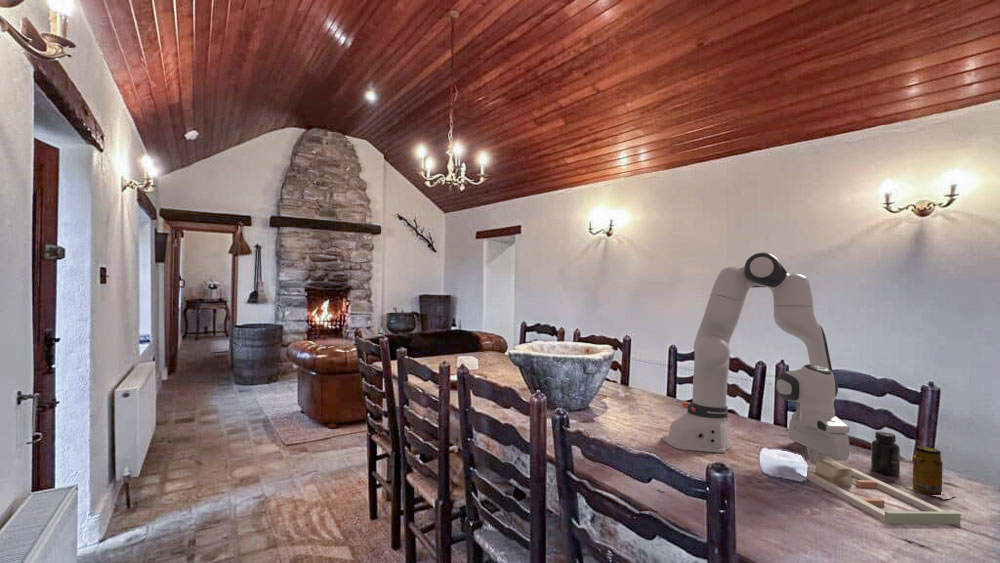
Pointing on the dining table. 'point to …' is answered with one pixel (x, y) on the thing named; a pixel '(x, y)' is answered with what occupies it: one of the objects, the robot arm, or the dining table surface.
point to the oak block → (834, 473)
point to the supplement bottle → (885, 454)
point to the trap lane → (871, 504)
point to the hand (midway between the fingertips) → (815, 464)
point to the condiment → (927, 471)
